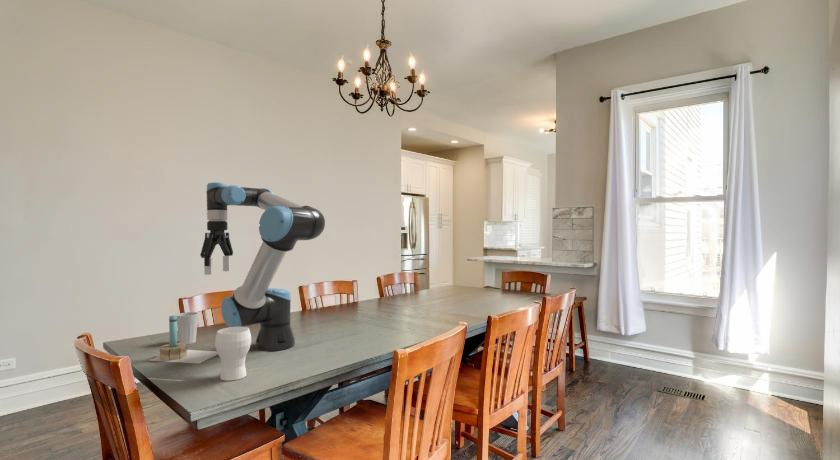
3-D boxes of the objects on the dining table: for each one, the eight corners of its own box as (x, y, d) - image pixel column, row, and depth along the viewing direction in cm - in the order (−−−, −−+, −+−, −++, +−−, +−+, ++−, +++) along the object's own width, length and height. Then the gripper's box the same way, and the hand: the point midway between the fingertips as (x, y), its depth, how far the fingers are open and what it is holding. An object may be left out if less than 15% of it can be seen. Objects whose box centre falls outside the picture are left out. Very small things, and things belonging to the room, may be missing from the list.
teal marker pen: (178, 356, 156) (178, 315, 156) (173, 358, 154) (173, 316, 154) (172, 355, 157) (172, 315, 157) (167, 357, 154) (167, 316, 154)
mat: (223, 352, 162) (223, 351, 162) (198, 364, 148) (198, 363, 148) (176, 350, 165) (176, 349, 165) (148, 361, 151) (148, 360, 151)
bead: (191, 354, 159) (191, 343, 159) (175, 361, 151) (175, 349, 151) (171, 353, 160) (171, 342, 160) (154, 359, 152) (154, 348, 152)
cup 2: (222, 371, 141) (222, 326, 141) (255, 370, 142) (255, 325, 142) (209, 383, 131) (209, 334, 131) (245, 382, 132) (245, 333, 131)
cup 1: (188, 346, 171) (188, 316, 171) (171, 345, 172) (171, 315, 172) (202, 341, 179) (202, 312, 179) (186, 339, 180) (186, 311, 180)
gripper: (224, 221, 186) (225, 270, 186) (189, 220, 161) (190, 276, 161) (241, 221, 185) (241, 269, 185) (208, 219, 160) (209, 276, 160)
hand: (217, 272), depth 173 cm, fingers open, 13 cm apart
